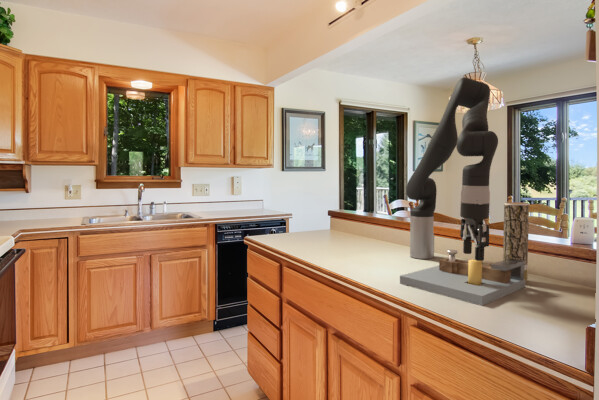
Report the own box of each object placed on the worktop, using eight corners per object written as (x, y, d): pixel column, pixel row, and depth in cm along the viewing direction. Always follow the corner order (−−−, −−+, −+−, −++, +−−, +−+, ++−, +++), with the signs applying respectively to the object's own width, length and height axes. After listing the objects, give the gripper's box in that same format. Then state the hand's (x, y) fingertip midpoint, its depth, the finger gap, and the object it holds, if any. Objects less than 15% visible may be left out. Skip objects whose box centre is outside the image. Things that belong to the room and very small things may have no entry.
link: (438, 270, 122) (438, 260, 122) (448, 267, 126) (448, 257, 126) (502, 284, 106) (503, 272, 105) (512, 280, 109) (512, 268, 109)
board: (445, 270, 132) (445, 263, 132) (524, 287, 111) (525, 278, 111) (399, 283, 116) (399, 275, 116) (482, 305, 96) (482, 296, 95)
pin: (471, 288, 110) (472, 258, 110) (483, 291, 107) (484, 261, 107) (465, 290, 108) (466, 260, 108) (477, 293, 105) (478, 262, 105)
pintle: (449, 276, 124) (450, 249, 123) (458, 278, 121) (459, 250, 121) (444, 278, 122) (445, 250, 121) (453, 280, 119) (454, 251, 119)
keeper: (509, 284, 114) (510, 258, 113) (523, 287, 111) (524, 260, 110) (490, 292, 107) (491, 264, 106) (504, 295, 103) (505, 266, 103)
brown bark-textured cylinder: (518, 284, 114) (520, 204, 112) (497, 279, 120) (499, 202, 118) (531, 281, 117) (533, 203, 115) (510, 276, 123) (512, 202, 121)
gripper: (452, 199, 113) (451, 251, 114) (471, 203, 99) (469, 262, 100) (477, 199, 113) (476, 251, 114) (500, 203, 99) (498, 263, 100)
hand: (473, 256), depth 107 cm, fingers open, 8 cm apart
